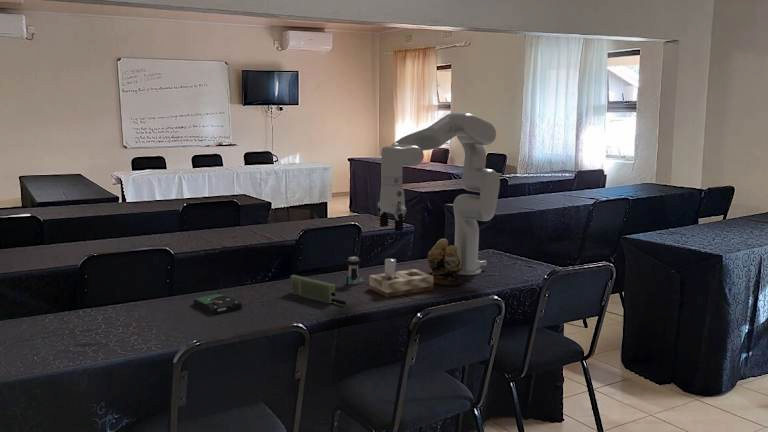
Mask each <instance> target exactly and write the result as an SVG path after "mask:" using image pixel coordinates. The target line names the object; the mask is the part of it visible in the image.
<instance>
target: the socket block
mask: <svg viewBox="0 0 768 432" xmlns="http://www.w3.org/2000/svg"><path fill="white" fill-rule="evenodd" d="M433 277H434V276H432V275H429V274H427V273H426V272H423V271H421V270H418V269H417V268H416V269H415V268H413V269H406V270H399V271H398V270H397V271H396V279H393V280H386V279H384V278H385V272H384V273H377V274H371V275H369V282H368V284H369V286H368V288H369V290H371V291H373V292H375V293H377V292H378V293H377V294H379V293H380V295H382V296H384V297H386V298H389V296H390V297H395V296H401V295H407V294H413V293H421V292H426V291H432V290H434V284H433Z"/></svg>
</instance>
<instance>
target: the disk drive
mask: <svg viewBox="0 0 768 432" xmlns="http://www.w3.org/2000/svg"><path fill="white" fill-rule="evenodd" d="M193 305H194V306H196V307H197V308H200V309H202V310H204V311H205V312H207V313H209V314H211V315H213V316H217V315H220V314H224V313H225V314H226V313H229V312H230V313H231V312H235V311H240V310H243V302H241V301H239V300H237V299H235V298H233V297H231V296H228V295H227V294H224V293H222V292H219V293H214V294H208V295H205V296H200V297H199V296H198V297H195V298H194V299H193Z"/></svg>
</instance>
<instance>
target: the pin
mask: <svg viewBox="0 0 768 432" xmlns="http://www.w3.org/2000/svg"><path fill="white" fill-rule="evenodd" d="M396 270H397V259H396V258H385V259H384V273H385V278H384V279H386V280H393V279H396V272H397V271H396Z"/></svg>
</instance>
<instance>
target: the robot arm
mask: <svg viewBox="0 0 768 432" xmlns="http://www.w3.org/2000/svg"><path fill="white" fill-rule="evenodd" d="M455 137H456V138H457V139H458V141H459V143H460V144H461V146H462V149H463V151H464V160H463V161H464V162H463V168H462V173H461V181H460V183H461V187H462V188H463V189H464V190H466V191H469V192H475V193H479V195H476V194H470V193H463V194H459V195H458V196H456V197H455V199H454V201H453V205H452V207H453V208H452V209H453V215H454V223H455V224H454V246H456V247H457V255H458V256H459V258H460V265H459V267H462V270H460V271H459V273H457V274H456V275H461V276H476V275H480V274H481V273H482V269H481V266H487V264H488V263H487V262H488V261H487V260H479V243H480V242H479V241H480V240H479V239H480V236H479V235H480V228H479V227H480V226H479V224H478V221H482V222H488V221H491V219H493V217H494V216H495V212H496V209H497V206H498V205H497V204H498V197H499V193H500V188H501V187H500V186H501V181H500V176H499V174H498V172H497V171H496V170H494V169H490V168H486V163H487V153H486V149H485V147H484V146H488V145H491V144H493V143H494V142H495V140H496V137H497V130H496V127H495V126H494V125H493V124H492V123H491V122H488V121H486V120H485V119H482V118H481V117H478V116H477V115H474V114H472V113H467V112H465V113H464V112H451V113H448V114H446V115H444V116H443V117H441V118H440V119H439V120H437V121H435V122H433V124H431V125H429V126H428V127H426V128H423V129H420V130H417V131H414V132H411V133H409V134H407V135H405V136H402V137H401V138H399V139H398V140H396V141H395V142H393V143H392V144H391V145H387V146H383V147H382V148H381V156H380V157H381V158H380V164H381V165H380V169H381V170H380V172H381V173H380V174H381V175H380V177H381V178H380V179H381V180H380V185H381V186H380V193H379V194H380V195H379V201H378V202H377V208H378V209H377V210H378V212H379V214H378V215H379V227H381V228H383V227H388V226H389V215H388V214H391V215H394V217H395V219H394V231H395V232H402V231H403V230H404V220H405V217H406V213H407V208H406V201H405V191H404V186H403V167H406V166H407V167H416V166H419V165H420V164H421V163H422V162H423V161H424V157H425V155H424V151H431V150H435V149H438V148H440V147H442V146H443V145H445V144H446V143H447V142H449V141H451V140H452V139H453V138H455Z"/></svg>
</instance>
